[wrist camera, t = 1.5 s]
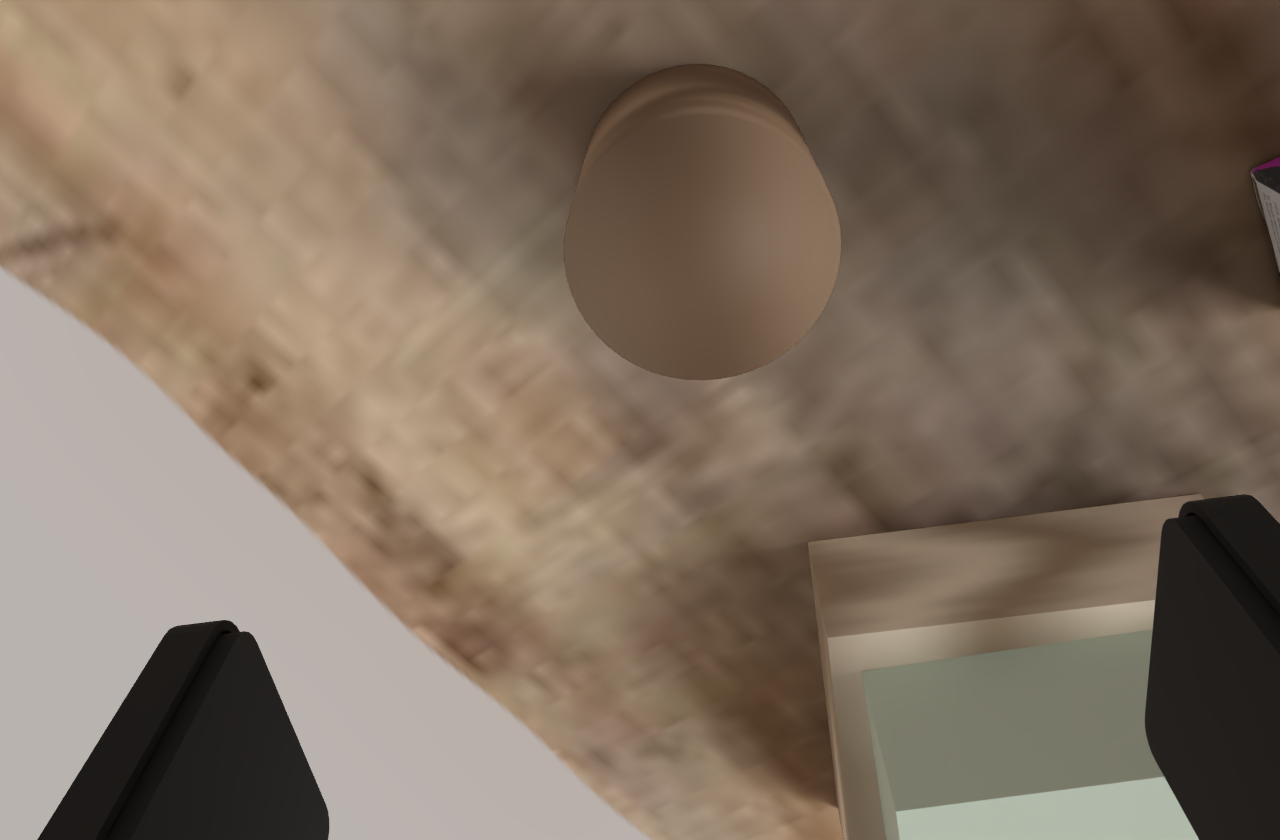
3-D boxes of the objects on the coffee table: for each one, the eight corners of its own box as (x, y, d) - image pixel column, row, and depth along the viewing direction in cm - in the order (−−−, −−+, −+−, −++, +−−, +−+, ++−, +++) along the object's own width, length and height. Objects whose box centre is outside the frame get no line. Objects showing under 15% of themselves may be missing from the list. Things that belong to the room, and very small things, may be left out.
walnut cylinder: (798, 46, 26) (830, 93, 21) (817, 270, 29) (850, 361, 24) (564, 84, 27) (538, 139, 22) (604, 300, 30) (590, 395, 25)
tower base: (1194, 487, 33) (1276, 585, 28) (1169, 767, 38) (1235, 885, 34) (806, 536, 34) (827, 637, 29) (836, 800, 39) (858, 919, 35)
